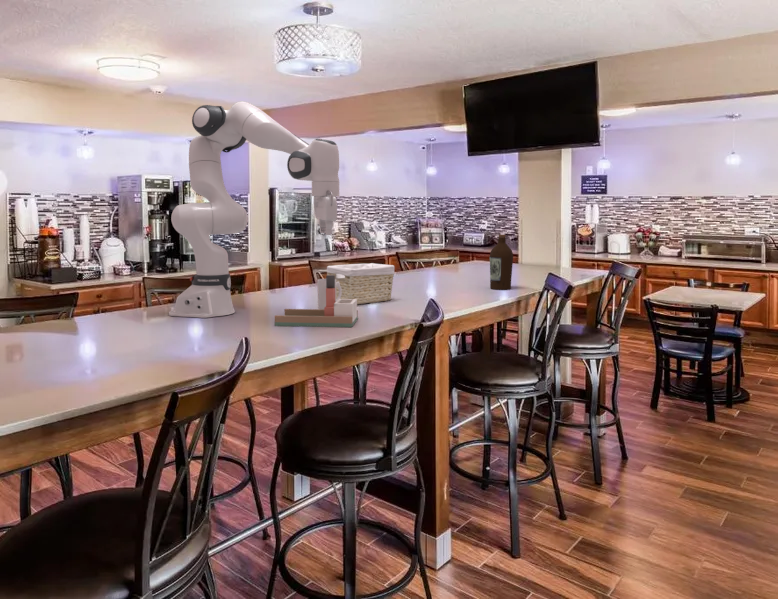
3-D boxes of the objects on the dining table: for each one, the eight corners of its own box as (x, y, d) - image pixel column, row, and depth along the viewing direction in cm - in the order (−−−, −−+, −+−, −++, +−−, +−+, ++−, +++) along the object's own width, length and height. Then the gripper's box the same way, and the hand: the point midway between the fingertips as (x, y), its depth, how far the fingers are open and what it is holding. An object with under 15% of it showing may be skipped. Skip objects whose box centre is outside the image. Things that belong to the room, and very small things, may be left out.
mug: (325, 315, 220) (325, 281, 218) (313, 313, 225) (313, 279, 223) (347, 312, 227) (347, 279, 225) (335, 309, 232) (335, 277, 230)
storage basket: (370, 296, 266) (370, 261, 264) (396, 301, 254) (396, 264, 252) (325, 302, 250) (324, 265, 248) (350, 307, 238) (349, 268, 236)
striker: (324, 319, 203) (323, 276, 201) (328, 315, 210) (327, 274, 208) (333, 319, 203) (333, 276, 201) (337, 316, 210) (336, 274, 207)
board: (274, 325, 201) (274, 303, 200) (285, 318, 215) (285, 297, 214) (351, 327, 199) (351, 304, 198) (357, 319, 213) (357, 298, 212)
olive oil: (500, 286, 298) (501, 233, 294) (516, 289, 289) (518, 234, 285) (484, 288, 292) (485, 234, 288) (500, 290, 283) (502, 235, 279)
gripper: (342, 190, 192) (342, 236, 195) (329, 190, 212) (329, 232, 214) (321, 190, 191) (322, 236, 193) (310, 190, 210) (311, 232, 212)
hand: (325, 233), depth 204 cm, fingers open, 8 cm apart
